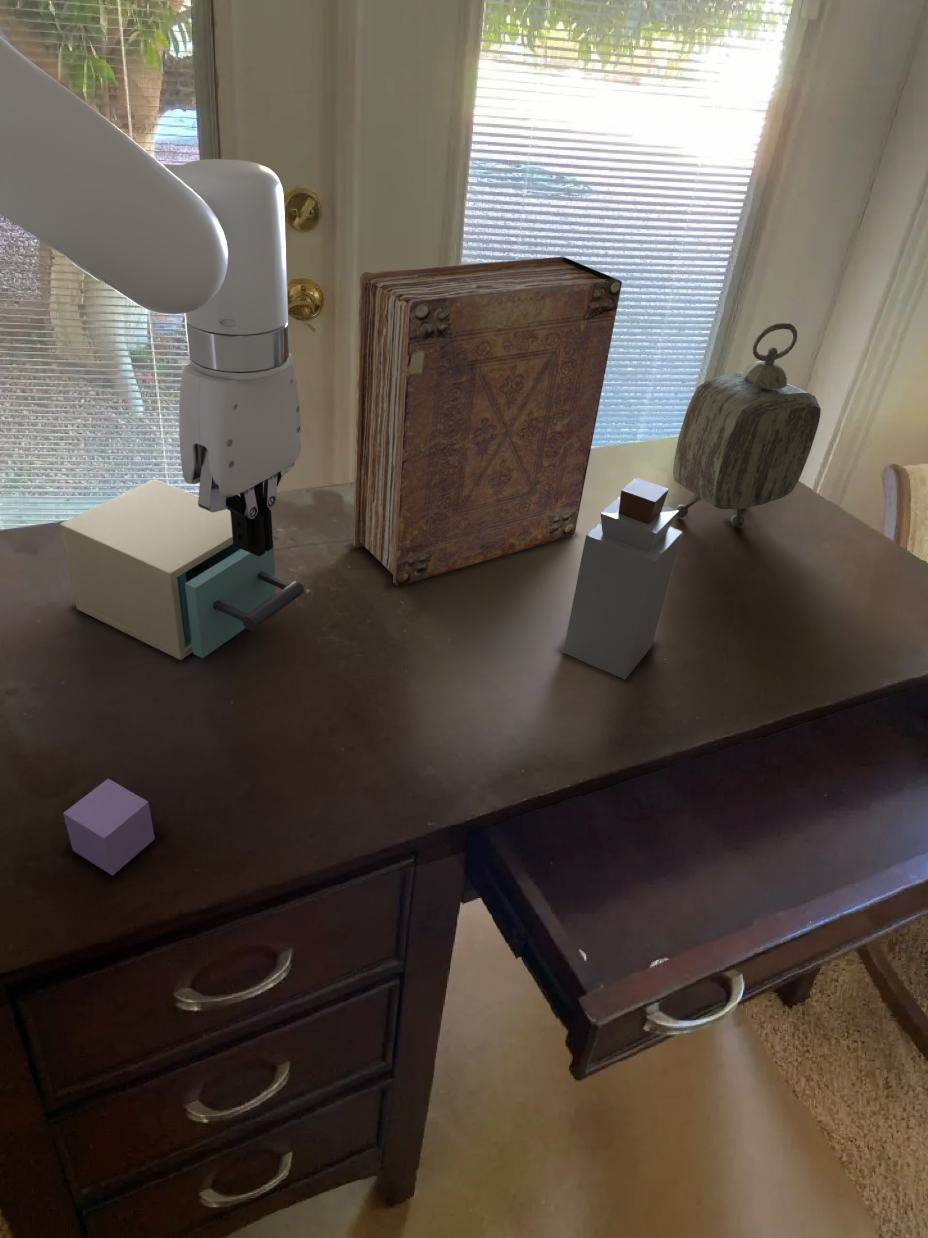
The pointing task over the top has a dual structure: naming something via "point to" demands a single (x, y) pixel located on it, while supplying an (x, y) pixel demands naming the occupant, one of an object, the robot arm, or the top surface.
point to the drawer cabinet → (142, 559)
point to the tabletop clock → (746, 435)
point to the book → (476, 408)
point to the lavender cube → (109, 826)
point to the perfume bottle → (623, 580)
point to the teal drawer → (230, 596)
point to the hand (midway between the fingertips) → (253, 547)
